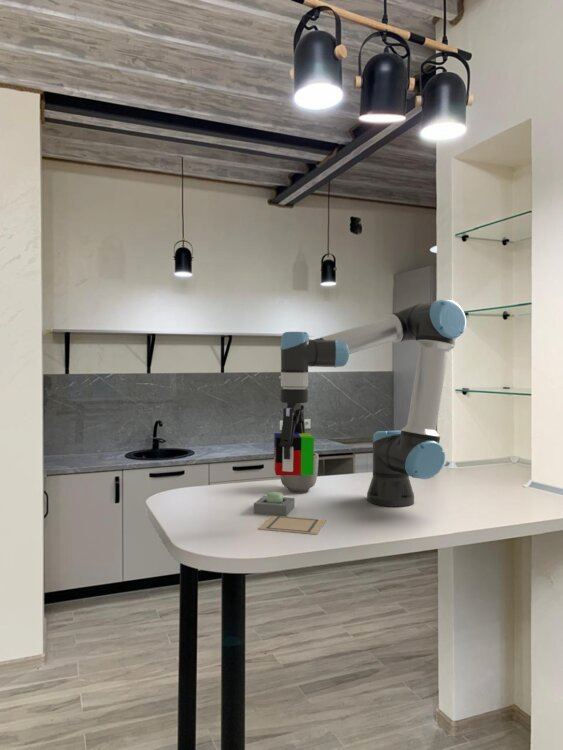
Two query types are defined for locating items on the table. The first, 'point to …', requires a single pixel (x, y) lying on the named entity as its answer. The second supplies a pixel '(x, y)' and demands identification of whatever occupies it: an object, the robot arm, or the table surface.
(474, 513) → the table surface
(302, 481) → the planter
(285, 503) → the button box
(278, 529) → the sheet
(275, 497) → the button
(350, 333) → the robot arm
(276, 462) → the puzzle toy
